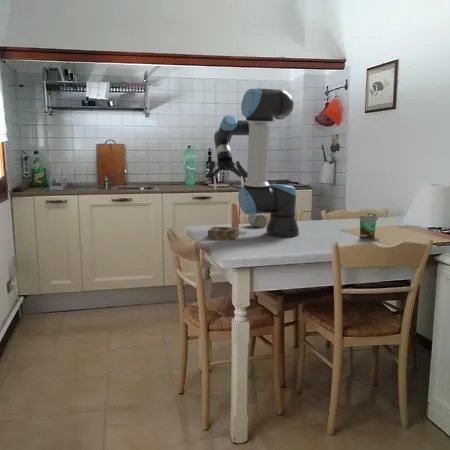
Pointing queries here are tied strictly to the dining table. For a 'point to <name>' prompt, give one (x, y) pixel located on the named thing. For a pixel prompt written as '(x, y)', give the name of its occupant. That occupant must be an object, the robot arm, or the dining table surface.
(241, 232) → the mat
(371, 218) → the food container
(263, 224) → the grey beige can
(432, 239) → the dining table surface
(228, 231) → the socket block
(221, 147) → the robot arm
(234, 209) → the dowel
